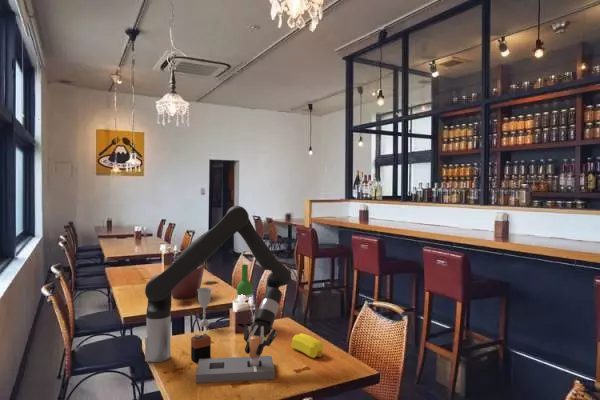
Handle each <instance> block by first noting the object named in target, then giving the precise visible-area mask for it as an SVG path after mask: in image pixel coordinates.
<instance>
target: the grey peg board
mask: <svg viewBox="0 0 600 400" xmlns="http://www.w3.org/2000/svg"><path fill="white" fill-rule="evenodd" d="M275 372H276V371H275V366H274V361H273V356H272V355H260V357H259V367H256V366H254V367H250V356H236V357H235V356H234V357H215V358H214V357H213V358H212V357H211V358H208V359H199V362H197V367H196V373H195V383H196V384H205V383H222V382H223V383H224V382H242V381H246V382H247V381H262V380H275V379H276V377H275V376H276V375H275Z"/></svg>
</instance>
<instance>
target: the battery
mask: <svg viewBox="0 0 600 400" xmlns="http://www.w3.org/2000/svg"><path fill="white" fill-rule="evenodd" d="M190 340H191V343H190V352H191V353H190V359H191V361H193V362H194V363H199V359H208V358H212V357H211V349H212V348H211V345H212V344H211V342H212V341H211V336H210V335H208V333H203V334H201V335H200V334H195V335H194V336H192V337H191V339H190Z"/></svg>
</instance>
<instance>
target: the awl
mask: <svg viewBox="0 0 600 400" xmlns="http://www.w3.org/2000/svg"><path fill="white" fill-rule="evenodd" d="M249 337H250V336H249ZM260 340H261V338H260V337H259V336H251V337H250V344H249V354H248V355H249V356H248V357H250V367H254V366H256V367H259V357H260V356H261V355H260V356H257V354H256V352H257V349H258V346H259V344H260Z"/></svg>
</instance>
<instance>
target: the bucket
mask: <svg viewBox="0 0 600 400" xmlns="http://www.w3.org/2000/svg"><path fill="white" fill-rule="evenodd" d="M169 266H170V265H167V266H166V269H167V268H168V267H169ZM204 271H205V265H203V264H202V265H201V266H199V267H198V268H197V269H196V270H194V271H193V272H192V273H191V274H189V275H188V276H186V277H185V278H184V279H183V280H181V281H180V282H179V283H178V284H177V285H176V286H175V288H174V289H173V290H172V296H171V298H173V299H175V298H178V299H177V300H187V299H188V298H189V299H195V298H194V297H196V298H198V291H197V289H199V288H201V286H202V281H203V276H204Z"/></svg>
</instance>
